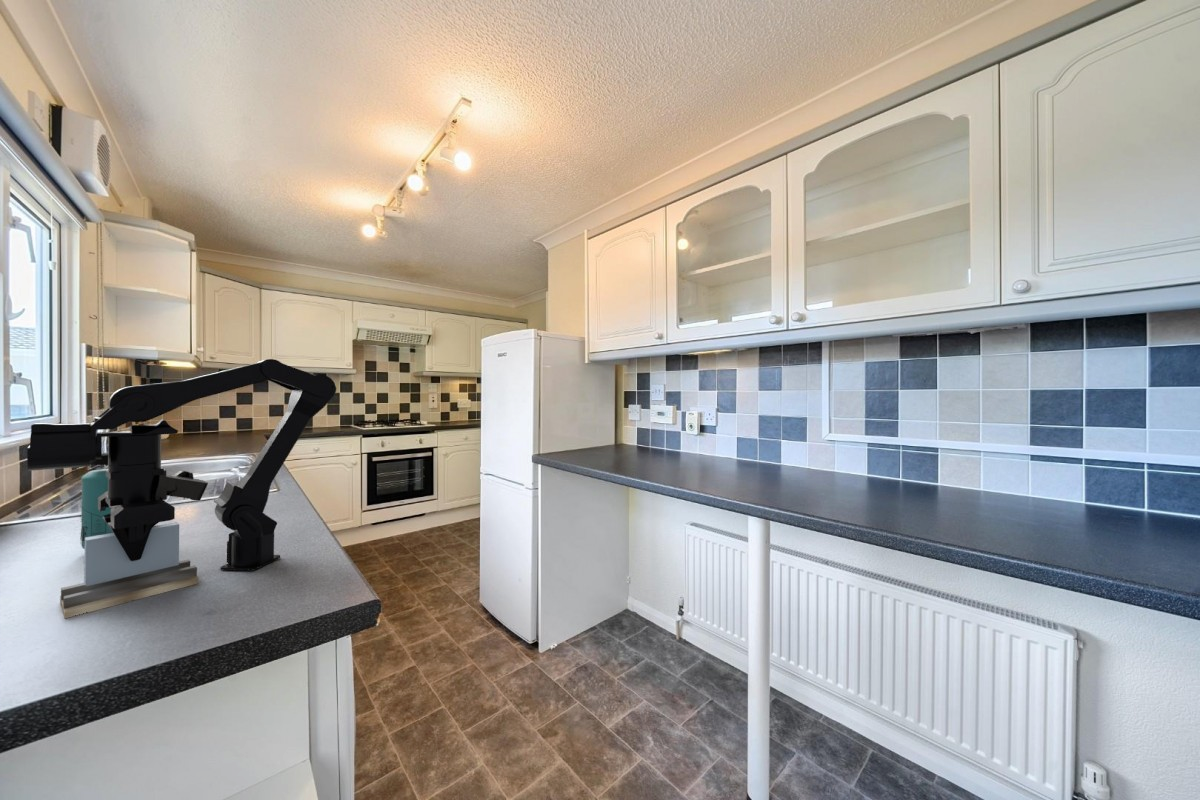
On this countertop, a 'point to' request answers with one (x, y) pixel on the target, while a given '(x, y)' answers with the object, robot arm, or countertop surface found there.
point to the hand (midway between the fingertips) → (134, 558)
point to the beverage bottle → (94, 501)
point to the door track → (126, 589)
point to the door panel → (113, 563)
